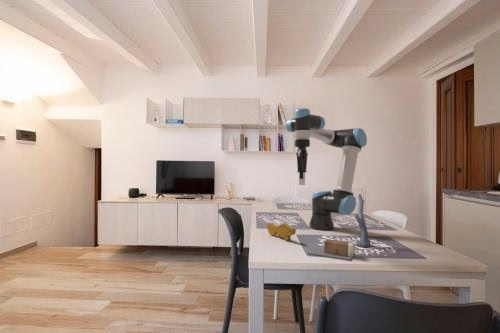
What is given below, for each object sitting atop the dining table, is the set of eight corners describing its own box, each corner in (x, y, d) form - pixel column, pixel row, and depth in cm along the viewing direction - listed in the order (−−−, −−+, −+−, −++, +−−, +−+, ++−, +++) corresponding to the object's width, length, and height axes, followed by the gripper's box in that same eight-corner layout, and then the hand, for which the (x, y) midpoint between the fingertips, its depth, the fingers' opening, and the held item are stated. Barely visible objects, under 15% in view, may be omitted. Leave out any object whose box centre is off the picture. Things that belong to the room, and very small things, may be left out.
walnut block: (326, 239, 128) (354, 242, 123) (326, 249, 128) (354, 253, 123) (324, 241, 124) (352, 245, 118) (324, 252, 124) (352, 256, 118)
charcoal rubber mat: (315, 246, 136) (315, 244, 136) (354, 251, 128) (354, 250, 128) (307, 254, 123) (307, 252, 123) (350, 260, 115) (350, 259, 115)
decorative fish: (298, 240, 141) (295, 220, 143) (293, 241, 139) (290, 221, 141) (272, 240, 159) (270, 222, 161) (268, 241, 157) (265, 223, 159)
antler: (372, 248, 133) (372, 196, 133) (354, 247, 135) (355, 195, 135) (367, 241, 144) (368, 193, 144) (351, 240, 146) (352, 193, 146)
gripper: (298, 140, 150) (298, 184, 150) (291, 138, 139) (291, 185, 139) (312, 140, 147) (312, 184, 147) (306, 137, 135) (305, 186, 135)
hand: (302, 185), depth 143 cm, fingers closed
